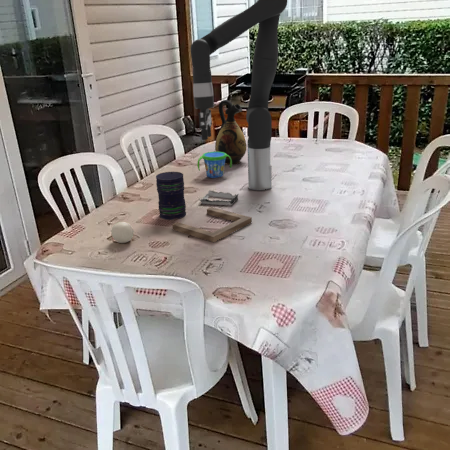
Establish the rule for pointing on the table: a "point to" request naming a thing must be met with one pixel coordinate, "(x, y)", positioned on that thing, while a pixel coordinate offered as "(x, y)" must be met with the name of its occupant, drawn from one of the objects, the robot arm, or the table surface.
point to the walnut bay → (214, 236)
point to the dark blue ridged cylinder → (171, 195)
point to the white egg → (122, 232)
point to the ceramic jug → (230, 134)
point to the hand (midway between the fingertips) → (206, 138)
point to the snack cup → (214, 163)
